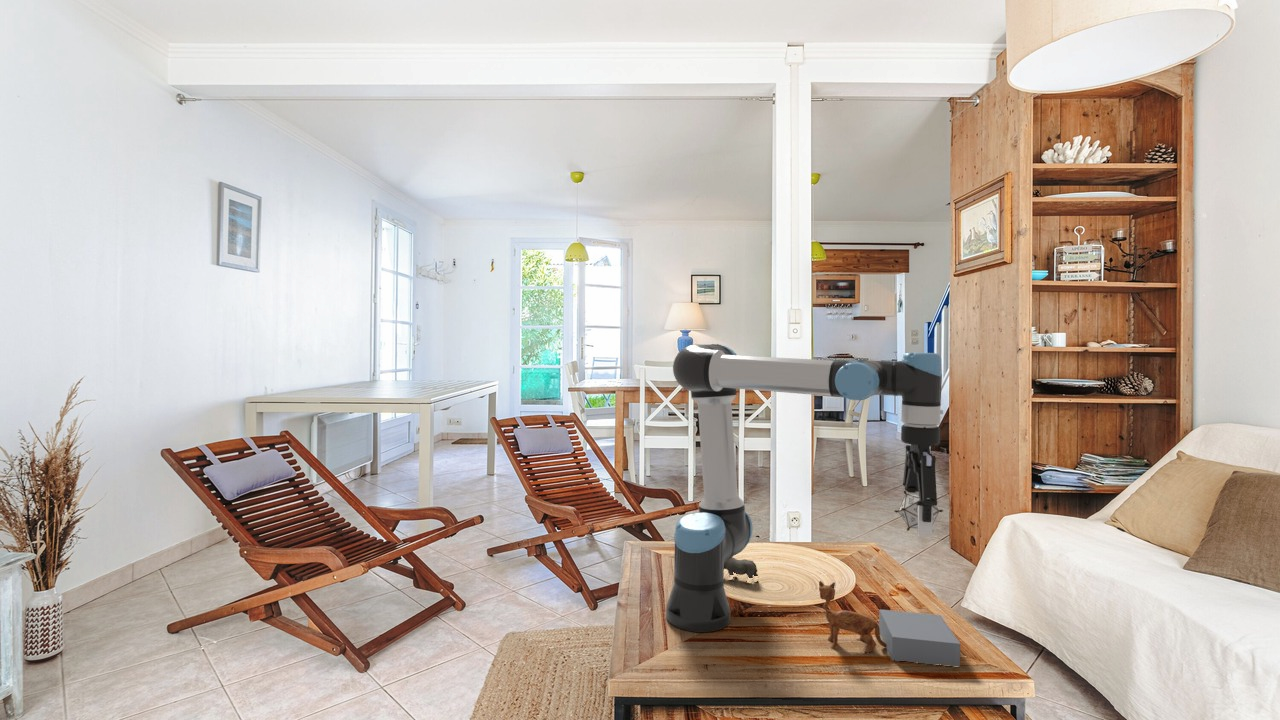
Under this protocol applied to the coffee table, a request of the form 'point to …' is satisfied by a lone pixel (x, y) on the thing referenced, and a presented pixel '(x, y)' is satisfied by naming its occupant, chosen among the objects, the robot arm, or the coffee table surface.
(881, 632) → the stand
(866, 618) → the cat figurine
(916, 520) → the game die
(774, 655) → the coffee table surface
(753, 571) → the dark grey animal figure
